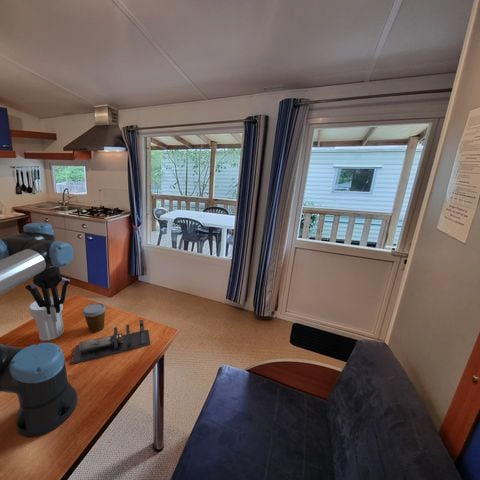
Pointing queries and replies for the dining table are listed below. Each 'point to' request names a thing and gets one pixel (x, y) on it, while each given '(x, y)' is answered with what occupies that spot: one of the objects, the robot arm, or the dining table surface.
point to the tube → (99, 342)
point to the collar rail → (115, 345)
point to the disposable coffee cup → (95, 316)
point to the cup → (47, 322)
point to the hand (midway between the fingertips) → (55, 319)
